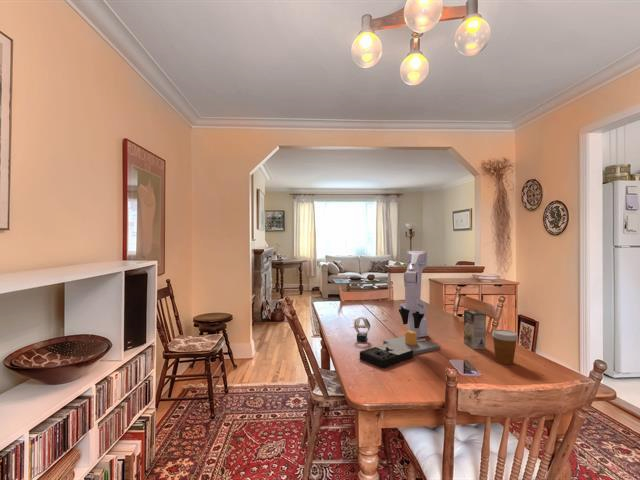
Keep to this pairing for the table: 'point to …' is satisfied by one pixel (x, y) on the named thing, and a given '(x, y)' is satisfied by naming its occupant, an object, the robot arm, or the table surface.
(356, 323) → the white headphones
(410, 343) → the orange cap
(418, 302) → the robot arm
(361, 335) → the watch
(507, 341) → the disposable coffee cup
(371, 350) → the multimeter
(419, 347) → the board
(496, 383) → the table surface
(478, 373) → the mobile phone
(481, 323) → the coffee box
